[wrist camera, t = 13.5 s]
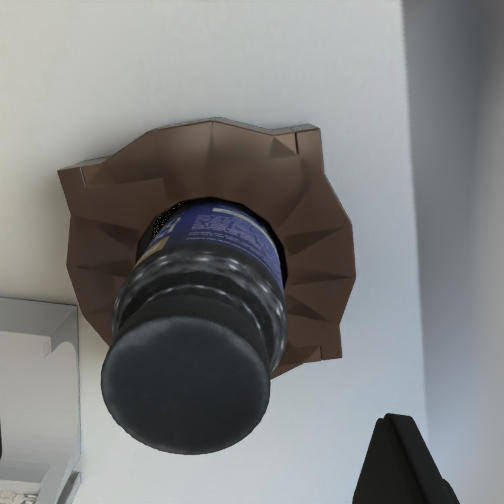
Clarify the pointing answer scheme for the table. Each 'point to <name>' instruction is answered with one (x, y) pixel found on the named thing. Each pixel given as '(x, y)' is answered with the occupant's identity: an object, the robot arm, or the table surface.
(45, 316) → the skate ramp
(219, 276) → the pill bottle
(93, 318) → the ring
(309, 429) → the table surface
